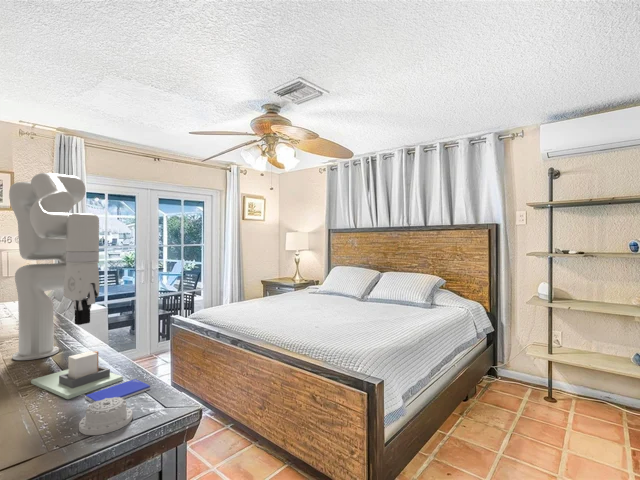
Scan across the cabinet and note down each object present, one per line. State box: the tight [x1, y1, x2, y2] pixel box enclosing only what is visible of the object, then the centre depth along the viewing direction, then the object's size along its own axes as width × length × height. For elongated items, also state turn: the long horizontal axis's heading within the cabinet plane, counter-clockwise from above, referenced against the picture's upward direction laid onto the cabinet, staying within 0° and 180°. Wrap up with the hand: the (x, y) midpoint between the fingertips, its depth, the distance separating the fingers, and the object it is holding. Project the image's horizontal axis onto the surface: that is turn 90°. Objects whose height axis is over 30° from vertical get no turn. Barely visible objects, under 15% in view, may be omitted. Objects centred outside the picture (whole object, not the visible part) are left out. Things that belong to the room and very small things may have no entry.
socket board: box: [30, 365, 124, 400], centre depth 98 cm, size 20×14×3 cm
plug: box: [67, 350, 99, 379], centre depth 97 cm, size 4×6×7 cm, turn 148°
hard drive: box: [84, 378, 151, 404], centre depth 91 cm, size 2×8×12 cm
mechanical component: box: [78, 397, 134, 436], centre depth 76 cm, size 10×4×10 cm
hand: (82, 323), depth 97 cm, fingers closed
